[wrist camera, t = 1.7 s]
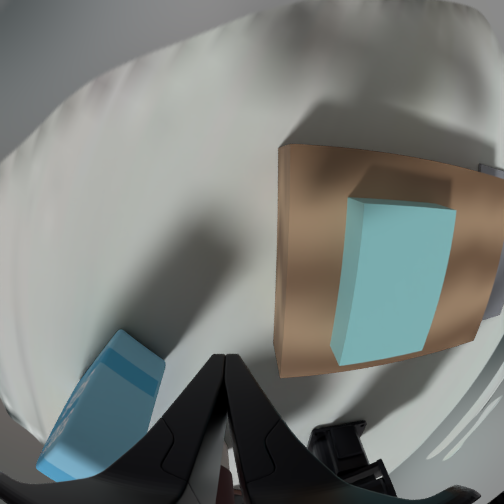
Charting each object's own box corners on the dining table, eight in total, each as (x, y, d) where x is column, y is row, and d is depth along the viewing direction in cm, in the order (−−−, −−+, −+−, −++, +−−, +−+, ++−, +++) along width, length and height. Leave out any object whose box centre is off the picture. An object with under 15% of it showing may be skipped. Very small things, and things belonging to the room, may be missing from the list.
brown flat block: (450, 319, 21) (473, 340, 17) (273, 342, 20) (280, 378, 17) (478, 175, 17) (510, 181, 13) (278, 147, 16) (290, 143, 12)
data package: (125, 320, 19) (58, 443, 8) (170, 354, 21) (136, 485, 9) (77, 384, 22) (33, 470, 10) (111, 408, 23) (79, 498, 12)
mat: (498, 313, 22) (499, 314, 22) (447, 327, 22) (449, 329, 21) (525, 180, 17) (527, 180, 17) (479, 163, 17) (481, 164, 16)
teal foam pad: (408, 334, 16) (422, 350, 14) (329, 345, 16) (339, 365, 14) (435, 203, 13) (456, 210, 12) (347, 197, 13) (364, 203, 11)
